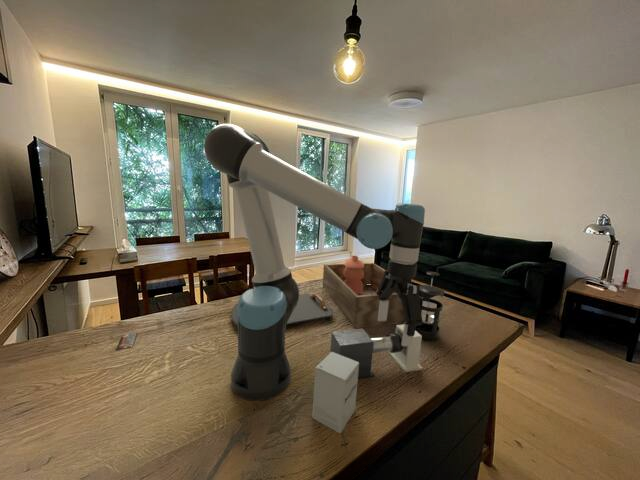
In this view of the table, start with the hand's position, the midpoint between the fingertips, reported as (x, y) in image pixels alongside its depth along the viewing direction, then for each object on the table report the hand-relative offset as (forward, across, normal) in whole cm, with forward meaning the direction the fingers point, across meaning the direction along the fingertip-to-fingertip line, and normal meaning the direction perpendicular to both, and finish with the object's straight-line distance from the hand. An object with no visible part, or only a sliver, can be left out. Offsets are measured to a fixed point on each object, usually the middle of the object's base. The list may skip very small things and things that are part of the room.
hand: (393, 331), depth 79 cm
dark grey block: (+10, 0, +12) cm, 16 cm away
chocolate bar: (+13, +26, +76) cm, 82 cm away
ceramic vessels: (+10, +40, -12) cm, 43 cm away
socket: (+10, 0, -5) cm, 11 cm away
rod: (+6, 0, +2) cm, 7 cm away
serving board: (+12, +36, +26) cm, 46 cm away
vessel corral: (+10, +42, -11) cm, 44 cm away
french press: (+10, +13, -21) cm, 27 cm away
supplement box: (+11, -14, +22) cm, 28 cm away
